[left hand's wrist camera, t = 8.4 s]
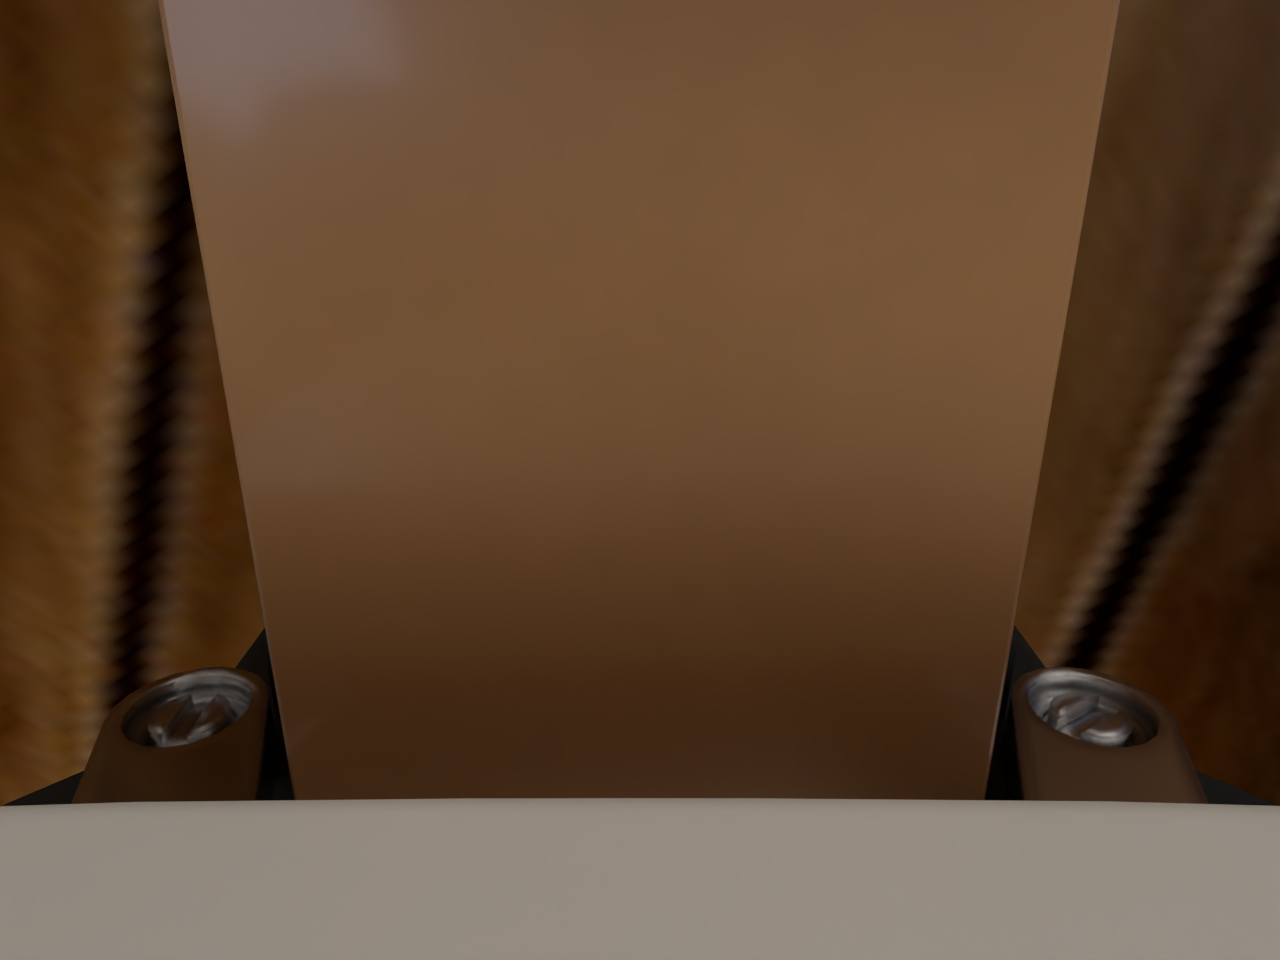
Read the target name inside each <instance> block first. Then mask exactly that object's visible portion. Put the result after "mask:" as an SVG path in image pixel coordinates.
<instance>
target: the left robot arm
mask: <svg viewBox="0 0 1280 960" xmlns="http://www.w3.org/2000/svg"><path fill="white" fill-rule="evenodd" d="M0 960H1280V806H1278V805H1276V804H1274V803H1271V802H1269V801H1267V800H1264V799H1262V798H1260V797H1257V796H1255V795H1252V794H1250V793H1248V792H1245V791H1243V790H1241V789H1238V788H1236V787H1234V786H1231V785H1229V784H1227V783H1224V782H1222V781H1220V780H1217V779H1215V778H1212V777H1210V776H1208V775H1205V774H1203V773H1201V772H1198V771H1196V770H1195V768H1194V765H1193V763H1192V760H1191V758H1190V755H1189V753H1188V750H1187V748H1186V745H1185V743H1184V740H1183V738H1182V735H1181V733H1180V730H1179V728H1178V725H1177V723H1176V721H1175V720H1174V718H1173V717H1172V715H1171V714H1170V712H1169V711H1168V709H1167V708H1166V707H1165V706H1164V705H1162V704H1161V703H1160V702H1159V701H1158V700H1156V699H1155V698H1154V697H1153V696H1152V695H1151V694H1149V693H1147V692H1145V691H1143V690H1142V689H1140V688H1138V687H1136V686H1134V685H1133V684H1131V683H1129V682H1126V681H1123V680H1121V679H1118V678H1115V677H1113V676H1110V675H1107V674H1104V673H1099V672H1095V671H1090V670H1086V669H1081V668H1068V667H1051V668H1045V666H1044V665H1043V664H1042V662H1041V661H1040V660H1039V658H1038V657H1037V656H1036V654H1035V653H1034V651H1033V650H1032V649H1031V647H1030V646H1029V645H1028V643H1027V642H1026V641H1025V639H1024V638H1023V636H1022V635H1021V634H1020V632H1019V631H1018V630H1017V628H1016V627H1015V626H1014V629H1013V635H1012V641H1011V647H1010V653H1009V659H1008V665H1007V670H1006V676H1005V682H1004V688H1003V694H1002V700H1001V706H1000V712H999V718H998V723H997V729H996V735H995V741H994V747H993V753H992V759H991V765H990V770H989V776H988V782H987V788H986V794H985V800H895V799H779V798H464V799H367V800H294V794H293V789H292V783H291V777H290V771H289V765H288V759H287V753H286V748H285V742H284V736H283V730H282V724H281V718H280V712H279V707H278V701H277V695H276V689H275V683H274V677H273V671H272V666H271V660H270V654H269V648H268V642H267V636H266V631H265V628H264V630H263V631H262V632H261V634H260V635H259V637H258V638H257V639H256V641H255V642H254V643H253V645H252V646H251V647H250V649H249V650H248V651H247V653H246V654H245V656H244V657H243V658H242V660H241V661H240V662H239V664H238V665H237V666H236V668H229V667H212V668H199V669H194V670H190V671H185V672H181V673H176V674H173V675H170V676H167V677H165V678H162V679H159V680H157V681H154V682H151V683H149V684H147V685H146V686H144V687H142V688H140V689H138V690H137V691H135V692H133V693H131V694H129V695H128V696H127V697H126V698H125V699H124V700H122V701H121V702H120V703H119V704H118V705H116V706H115V707H114V708H113V709H112V711H111V712H110V714H109V715H108V717H107V718H106V720H105V721H104V723H103V725H102V728H101V730H100V733H99V735H98V738H97V740H96V743H95V745H94V748H93V750H92V753H91V755H90V758H89V760H88V763H87V765H86V768H85V770H84V771H82V772H80V773H78V774H75V775H73V776H71V777H68V778H66V779H64V780H61V781H59V782H57V783H54V784H52V785H49V786H47V787H45V788H42V789H40V790H38V791H35V792H33V793H31V794H28V795H26V796H24V797H21V798H19V799H17V800H14V801H12V802H9V803H7V804H5V805H2V806H0Z"/></svg>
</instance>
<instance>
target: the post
mask: <svg viewBox="0 0 1280 960" xmlns="http://www.w3.org/2000/svg"><path fill="white" fill-rule="evenodd" d="M158 4H159V10H160V16H161V22H162V28H163V34H164V40H165V45H166V51H167V57H168V63H169V69H170V75H171V80H172V86H173V92H174V98H175V104H176V110H177V116H178V121H179V127H180V133H181V139H182V145H183V151H184V157H185V162H186V168H187V174H188V180H189V186H190V192H191V197H192V203H193V209H194V215H195V221H196V227H197V233H198V238H199V244H200V250H201V256H202V262H203V268H204V274H205V279H206V285H207V291H208V297H209V303H210V309H211V315H212V320H213V326H214V332H215V338H216V344H217V350H218V355H219V361H220V367H221V373H222V379H223V385H224V391H225V396H226V402H227V408H228V414H229V420H230V426H231V432H232V437H233V443H234V449H235V455H236V461H237V467H238V473H239V478H240V484H241V490H242V496H243V502H244V508H245V513H246V519H247V525H248V531H249V537H250V543H251V549H252V554H253V560H254V566H255V572H256V578H257V584H258V590H259V595H260V601H261V607H262V613H263V619H264V625H265V631H266V636H267V642H268V648H269V654H270V660H271V666H272V671H273V677H274V683H275V689H276V695H277V701H278V707H279V712H280V718H281V724H282V730H283V736H284V742H285V748H286V753H287V759H288V765H289V771H290V777H291V783H292V789H293V794H294V800H367V799H464V798H779V799H895V800H985V794H986V788H987V782H988V776H989V770H990V765H991V759H992V753H993V747H994V741H995V735H996V729H997V723H998V718H999V712H1000V706H1001V700H1002V694H1003V688H1004V682H1005V676H1006V670H1007V665H1008V659H1009V653H1010V647H1011V641H1012V635H1013V629H1014V623H1015V617H1016V612H1017V606H1018V600H1019V594H1020V588H1021V582H1022V576H1023V570H1024V565H1025V559H1026V553H1027V547H1028V541H1029V535H1030V529H1031V523H1032V517H1033V512H1034V506H1035V500H1036V494H1037V488H1038V482H1039V476H1040V470H1041V464H1042V459H1043V453H1044V447H1045V441H1046V435H1047V429H1048V423H1049V417H1050V412H1051V406H1052V400H1053V394H1054V388H1055V382H1056V376H1057V370H1058V364H1059V359H1060V353H1061V347H1062V341H1063V335H1064V329H1065V323H1066V317H1067V312H1068V306H1069V300H1070V294H1071V288H1072V282H1073V276H1074V270H1075V264H1076V259H1077V253H1078V247H1079V241H1080V235H1081V229H1082V223H1083V217H1084V211H1085V206H1086V200H1087V194H1088V188H1089V182H1090V176H1091V170H1092V164H1093V159H1094V153H1095V147H1096V141H1097V135H1098V129H1099V123H1100V117H1101V111H1102V106H1103V100H1104V94H1105V88H1106V82H1107V76H1108V70H1109V64H1110V59H1111V53H1112V47H1113V41H1114V35H1115V29H1116V23H1117V17H1118V11H1119V6H1120V0H158Z"/></svg>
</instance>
